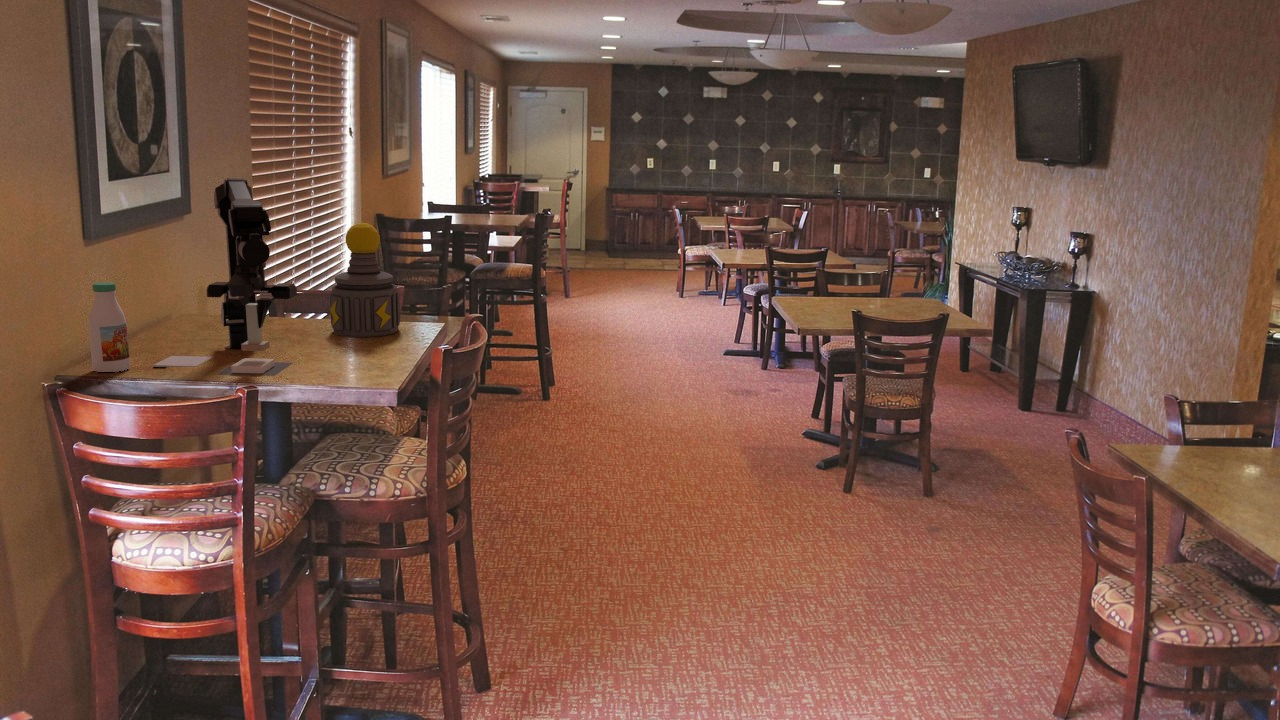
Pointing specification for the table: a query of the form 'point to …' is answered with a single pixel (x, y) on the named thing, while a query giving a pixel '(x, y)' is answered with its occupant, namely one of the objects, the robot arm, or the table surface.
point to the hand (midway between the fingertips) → (254, 327)
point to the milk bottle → (108, 331)
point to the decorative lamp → (364, 290)
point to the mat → (271, 372)
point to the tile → (253, 366)
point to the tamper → (253, 331)
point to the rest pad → (182, 361)
